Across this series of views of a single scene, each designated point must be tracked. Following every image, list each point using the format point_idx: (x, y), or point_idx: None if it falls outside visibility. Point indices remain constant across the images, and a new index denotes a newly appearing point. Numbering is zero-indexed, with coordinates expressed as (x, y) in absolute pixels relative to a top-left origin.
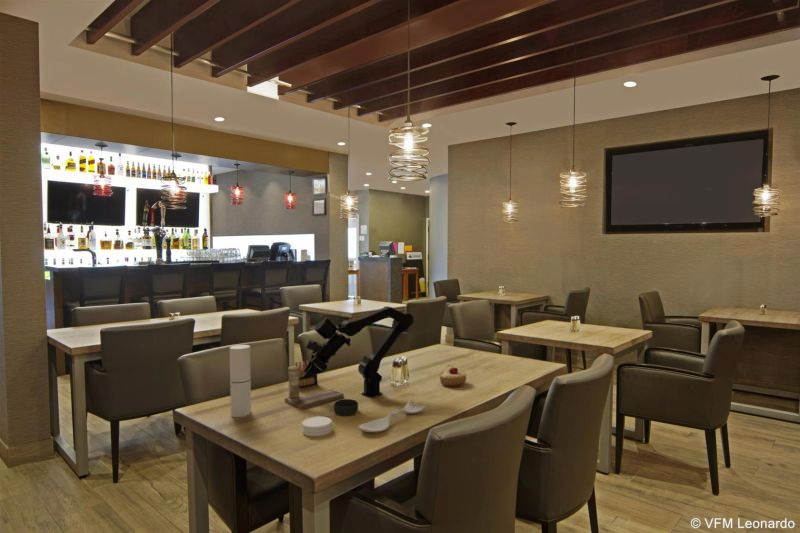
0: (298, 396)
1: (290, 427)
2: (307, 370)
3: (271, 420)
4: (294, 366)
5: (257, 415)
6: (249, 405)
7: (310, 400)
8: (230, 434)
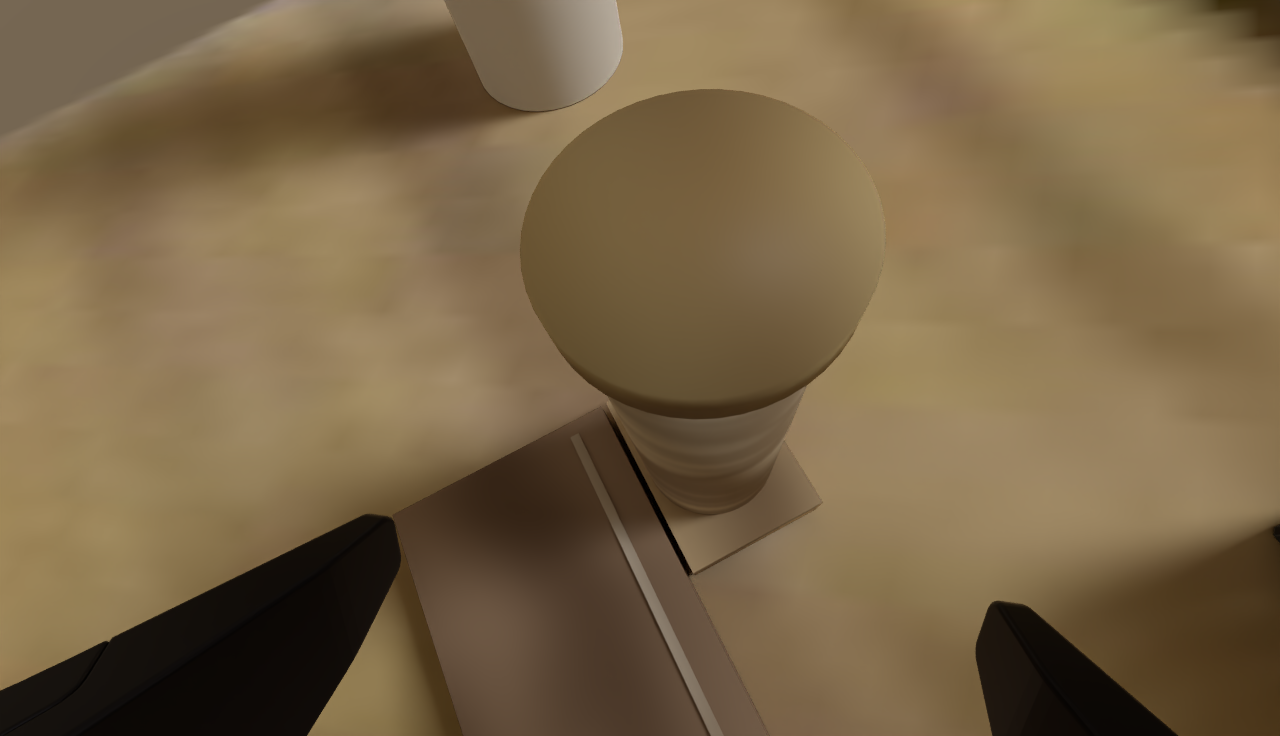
0: (668, 496)
1: (70, 383)
2: (1003, 721)
3: (297, 252)
4: (840, 248)
5: (460, 155)
6: (479, 42)
7: (524, 645)
8: (201, 46)
